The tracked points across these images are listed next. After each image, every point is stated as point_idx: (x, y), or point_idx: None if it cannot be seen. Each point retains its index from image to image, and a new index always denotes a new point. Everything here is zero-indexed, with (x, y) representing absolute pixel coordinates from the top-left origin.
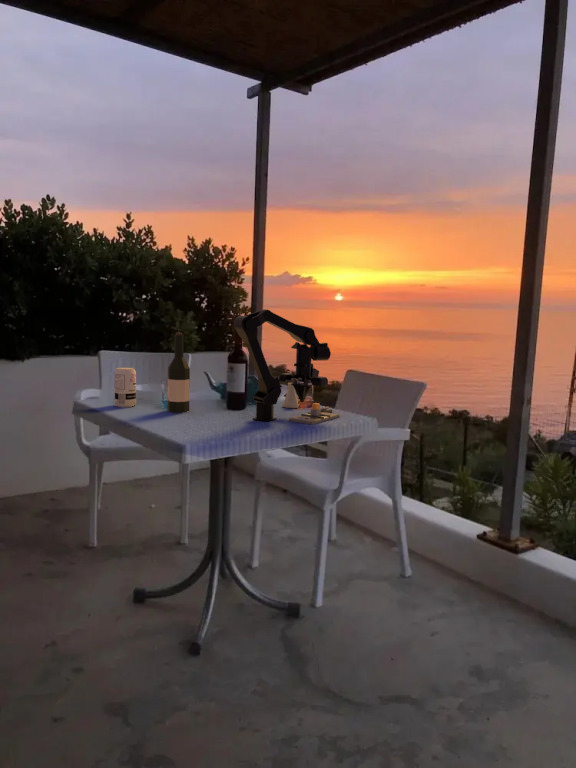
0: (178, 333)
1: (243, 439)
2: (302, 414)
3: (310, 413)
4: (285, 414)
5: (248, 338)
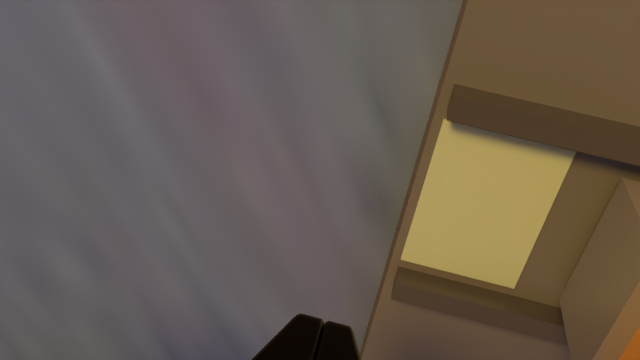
0: None
1: None
2: (417, 301)
3: (514, 128)
4: (69, 87)
5: None
